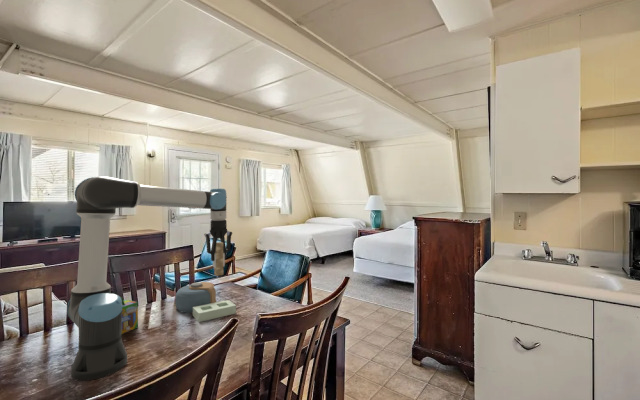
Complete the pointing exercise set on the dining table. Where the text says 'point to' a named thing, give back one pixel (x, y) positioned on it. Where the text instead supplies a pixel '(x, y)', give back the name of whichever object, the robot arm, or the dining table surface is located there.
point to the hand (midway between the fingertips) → (218, 266)
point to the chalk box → (129, 315)
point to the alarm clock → (195, 296)
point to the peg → (219, 259)
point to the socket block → (214, 310)
